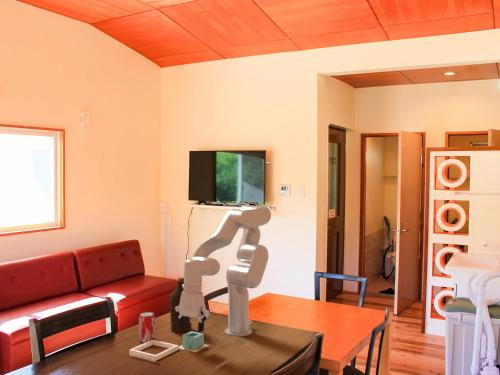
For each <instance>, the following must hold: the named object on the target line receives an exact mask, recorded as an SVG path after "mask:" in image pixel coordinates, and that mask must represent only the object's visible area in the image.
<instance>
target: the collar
mask: <svg viewBox="0 0 500 375" xmlns="http://www.w3.org/2000/svg"><path fill="white" fill-rule="evenodd" d="M204 338H205V336H204V333H201V332H198V331H193V330H191V331H189V332H186V333H184V334H182V339H181V340H182V342H181V343H182V344H181V345H182V347H183V348H184V349H185V351H187V350H190V349H192V350H196V349H198V348H200V347H202V346H204V344H205V342H204V340H205V339H204Z"/></svg>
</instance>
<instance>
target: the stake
mask: <svg viewBox="0 0 500 375" xmlns="http://www.w3.org/2000/svg"><path fill="white" fill-rule="evenodd" d="M209 346H210V344H206V343H204V346H202V347H200V348H198V349H196V350H192V349H190V350H185V349H184V348H183V347H182V344H181V345H180V346H179V350H185V351H187V352H193V353H197V352H199V351H201V350H203V349H204V348H207V347H209Z"/></svg>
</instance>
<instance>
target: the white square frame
mask: <svg viewBox="0 0 500 375" xmlns="http://www.w3.org/2000/svg"><path fill="white" fill-rule="evenodd" d="M151 346H157V347H161V348H165V350H163V351H162V352H161V351H160V352H159V353H156V354H153V353H149V352H147V351H146V352H145V351H142V350H144V349H146V348H149V347H151ZM178 350H180V349H179V345H178V344H175V343H174V344H173V343H169V342H165V341H160V340H156V339H154V340H151V341H148V342H146V343H141V344H140V345H137V346H135V347H132V348H130V349H129V352H128V354H129V357H131V358H132V357H133V358H136V359H140V360H145V361H148V362H152V363H158V362H159V360H160V359H163V358H164V357H166V356H168V355H171V354H173V353H174V352H177V351H178Z"/></svg>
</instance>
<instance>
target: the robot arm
mask: <svg viewBox="0 0 500 375" xmlns="http://www.w3.org/2000/svg"><path fill="white" fill-rule="evenodd" d="M271 217H272V212H271V210H270V208H268V207H267V206H264V205H251V204H249V205H248V204H247V205H242V206H241V207H240V208H239V209H234V208H233V209H229V210H228V211H227V212H226V214H224V217H223V218H222V219H221V221H220V224H219V225H218V227H217V229H216V230H215V232H214V233H213V234H212V235H211V236H210V237H208V238H207V239H206V240H204V241H203V242H202V243H201V244H199V245H198V247H197V248H196V250H195V251H194V252H193V255H192V256H191V258H189V259H186V260H185V261H184V263H183V264H184V265H183V266H184V268H183V278H184V285H182V288H184V291H182V294H181V298H180V305H178V306H176V307H175V310H176V313H177V315H178V318H179V319H180V321H179V325H180V327H179V328H183V327H185V316H187V317H192V318H194V319H197V320H198V323H197V324H198V325H197V332H198V333H201V332H204V330H205V322H206V321H207V320H208V319H209V316H210V315H211V312H210V311H208V309H206V308H205V300H204V293H203V292H202V291H203V290H202V288H203V276H207V277H210V276H211V277H212V276H215V275H217V274H218V273H219V271H220V269H221V264H220V262H219V261H218V260H217V259H215V258H212V257H209V256H210V255H211V254H212V253H214V252H215V251H217V250H220V249H224V248H225V247H228V246H230V245H231V243H232V242H233V240H234V238H235V236H236V234H237V233H238V231H239V229H243V231H242V236H241V238H240V242H239V245H238V247H237V251H236V255H235V257H236V259H237V261H238V262H240V263H243V264H238V263H237V264H232V265H230V266H229V267H228V268H227V270H226V273H225V274H226V275H225V276H226V283H227V292H228V293H227V295H228V299H227V300H228V302H227V304H228V305H227V306H228V307H227V308H228V313H227V314H228V316H227V317H228V319H227V320H228V323H227V324H228V325H227V326H228V327H227V328H225V330H224V333H225V335H228V336H232V337H237V338H238V337H239V338H240V337H242V338H244V337H247V336H250V335H252V334H253V329H252V328H251V327H250V325H252V324H253V320H252V319H249V318H250V317H249V316H250V314H249V312H250V310H249V309H250V308H249V306H250V304H249V302H250V297H249V296H250V294H249V290H248V289H256V288H257V287H259V286H260V285H261V282H262V280H263V277H264V274H265V271H266V267H267V265H268V261H269V250H268V249H267V247H266V246H265V245H262V244H259V243H260V239H261V230H260V228H259V227H262V226H264V225H267V224H268V223H269V222H270V221H271ZM244 264H247V265H244Z"/></svg>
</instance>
